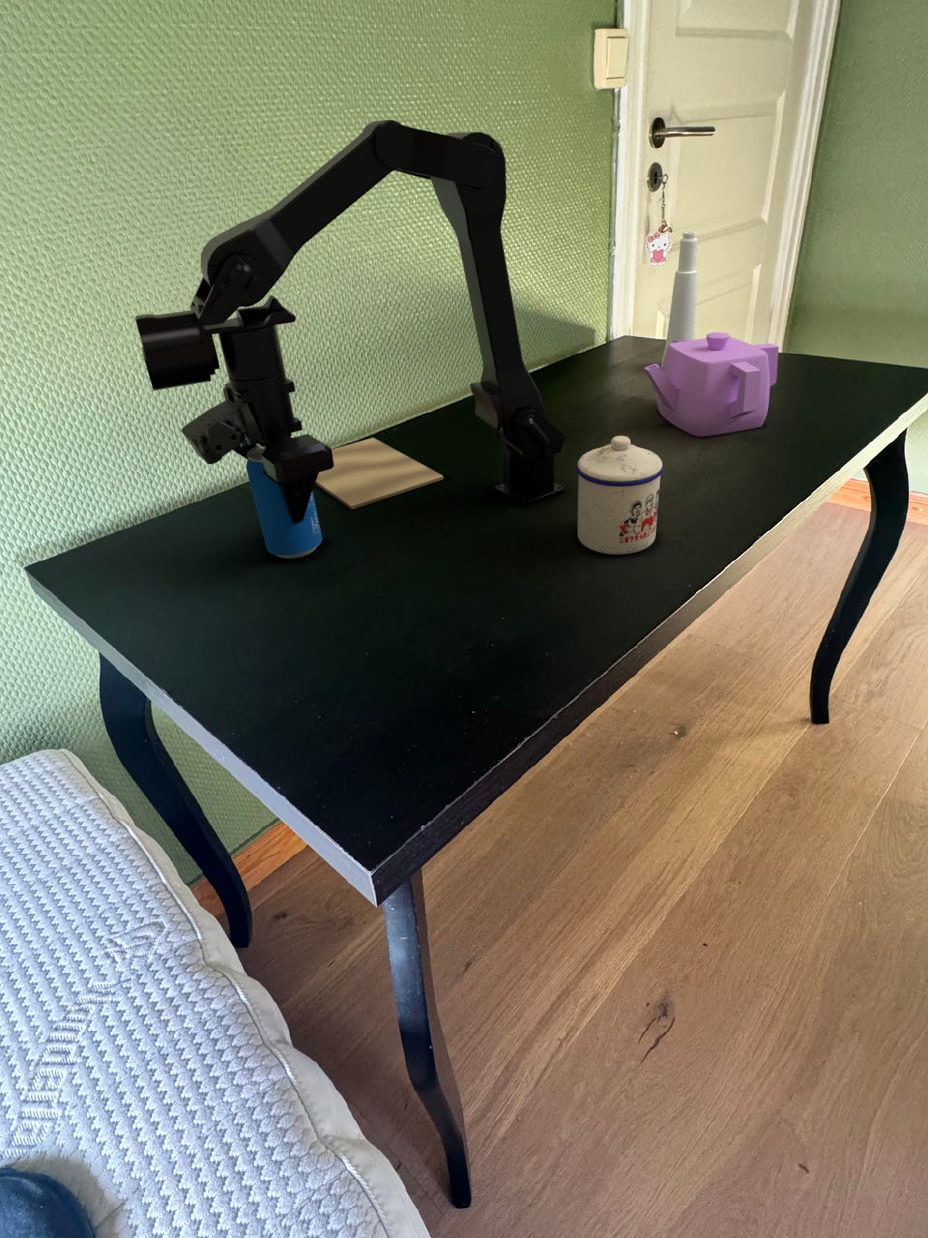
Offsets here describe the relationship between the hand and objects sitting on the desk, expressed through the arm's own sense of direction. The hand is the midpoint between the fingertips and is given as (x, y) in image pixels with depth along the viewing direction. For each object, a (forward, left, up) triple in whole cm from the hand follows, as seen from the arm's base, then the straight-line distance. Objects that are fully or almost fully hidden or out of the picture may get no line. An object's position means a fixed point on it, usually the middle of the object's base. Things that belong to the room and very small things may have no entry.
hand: (286, 511), depth 86 cm
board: (+15, -17, -5) cm, 23 cm away
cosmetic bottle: (+18, -83, -5) cm, 85 cm away
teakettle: (-3, -66, -5) cm, 66 cm away
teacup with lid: (-22, -31, -5) cm, 38 cm away
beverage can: (0, 0, -5) cm, 5 cm away
